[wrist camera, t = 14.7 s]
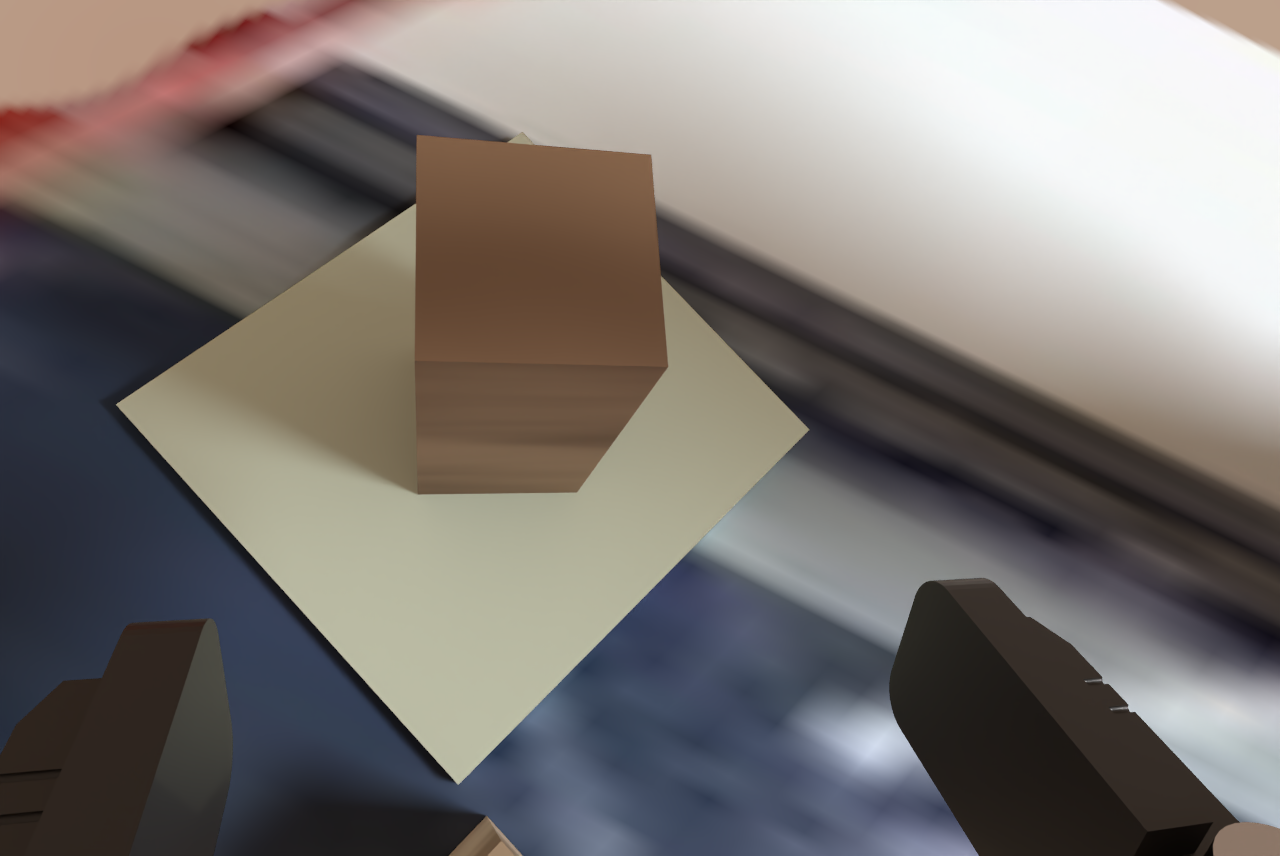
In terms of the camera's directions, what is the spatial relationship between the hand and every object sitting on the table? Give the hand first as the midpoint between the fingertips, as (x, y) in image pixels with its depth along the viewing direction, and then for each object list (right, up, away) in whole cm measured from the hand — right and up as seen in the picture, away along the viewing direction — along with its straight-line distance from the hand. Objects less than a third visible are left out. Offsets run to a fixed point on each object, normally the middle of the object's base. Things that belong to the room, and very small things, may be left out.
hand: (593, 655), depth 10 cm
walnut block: (-3, +3, +13) cm, 13 cm away
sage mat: (-3, +3, +13) cm, 14 cm away
